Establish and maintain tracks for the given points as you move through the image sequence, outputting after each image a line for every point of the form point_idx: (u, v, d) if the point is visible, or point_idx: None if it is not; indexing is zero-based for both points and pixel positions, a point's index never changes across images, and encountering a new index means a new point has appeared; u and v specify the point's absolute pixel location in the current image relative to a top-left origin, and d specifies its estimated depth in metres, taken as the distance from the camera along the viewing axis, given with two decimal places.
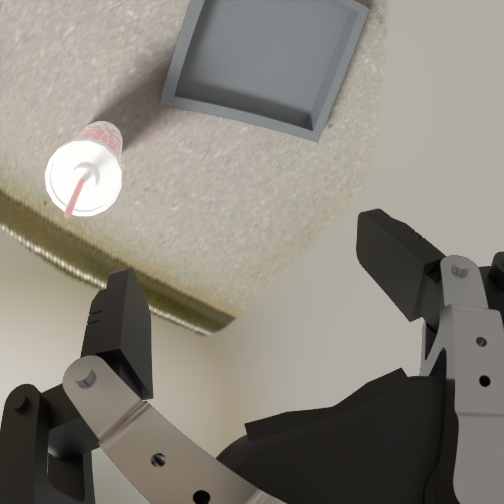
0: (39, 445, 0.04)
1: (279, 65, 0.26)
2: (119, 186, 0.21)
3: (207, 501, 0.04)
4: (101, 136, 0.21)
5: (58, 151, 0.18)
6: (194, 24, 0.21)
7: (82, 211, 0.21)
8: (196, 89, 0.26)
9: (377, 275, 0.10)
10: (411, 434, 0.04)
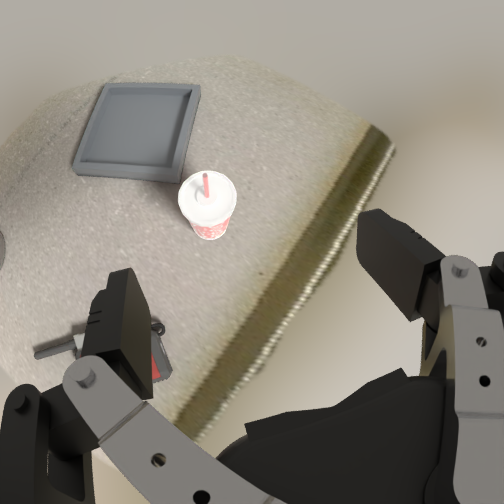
0: (39, 445, 0.04)
1: (152, 119, 0.43)
2: (213, 172, 0.33)
3: (207, 501, 0.04)
4: None
5: (184, 212, 0.32)
6: (123, 165, 0.39)
7: (232, 198, 0.32)
8: (170, 161, 0.42)
9: (377, 275, 0.10)
10: (411, 434, 0.04)
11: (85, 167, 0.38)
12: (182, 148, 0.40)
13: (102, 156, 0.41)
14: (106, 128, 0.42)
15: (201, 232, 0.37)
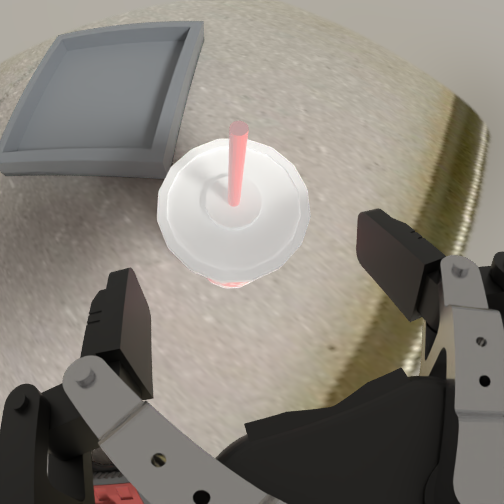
0: (39, 445, 0.04)
1: (124, 75, 0.23)
2: None
3: (207, 501, 0.04)
4: None
5: (174, 249, 0.12)
6: (66, 150, 0.19)
7: (299, 206, 0.12)
8: (151, 138, 0.22)
9: (377, 275, 0.10)
10: (411, 434, 0.04)
11: (8, 159, 0.19)
12: (172, 112, 0.20)
13: (40, 140, 0.21)
14: (52, 97, 0.22)
15: (217, 281, 0.17)
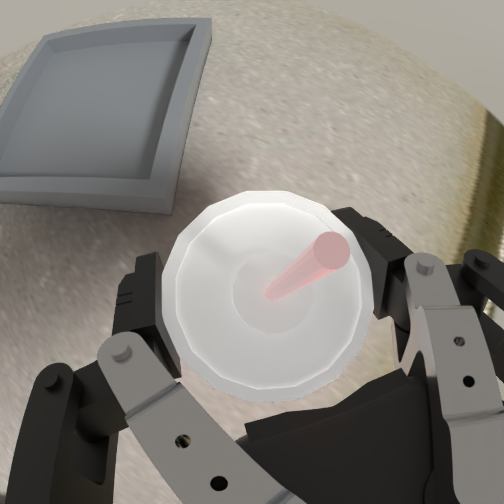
0: (66, 426, 0.05)
1: (117, 82, 0.20)
2: (285, 195, 0.09)
3: None
4: None
5: (189, 361, 0.08)
6: (47, 178, 0.16)
7: (360, 294, 0.09)
8: (150, 163, 0.18)
9: None
10: (400, 445, 0.04)
11: None
12: (175, 132, 0.17)
13: (20, 162, 0.18)
14: (34, 108, 0.19)
15: None
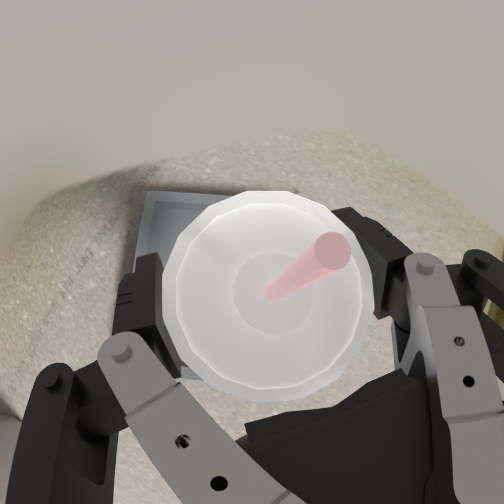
0: (66, 426, 0.05)
1: None
2: (286, 195, 0.09)
3: None
4: None
5: (189, 361, 0.08)
6: None
7: (361, 294, 0.09)
8: None
9: None
10: (400, 445, 0.04)
11: None
12: None
13: None
14: None
15: None
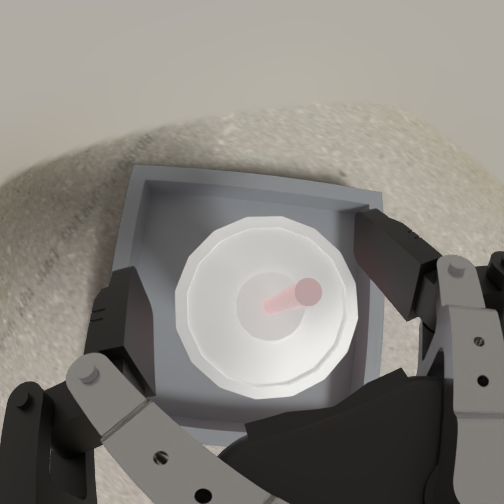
0: (41, 443, 0.04)
1: None
2: (281, 220, 0.11)
3: (207, 501, 0.04)
4: None
5: (199, 364, 0.09)
6: (243, 434, 0.15)
7: (346, 306, 0.10)
8: (338, 394, 0.18)
9: (374, 275, 0.10)
10: (410, 435, 0.04)
11: None
12: None
13: (166, 382, 0.17)
14: (157, 300, 0.19)
15: None
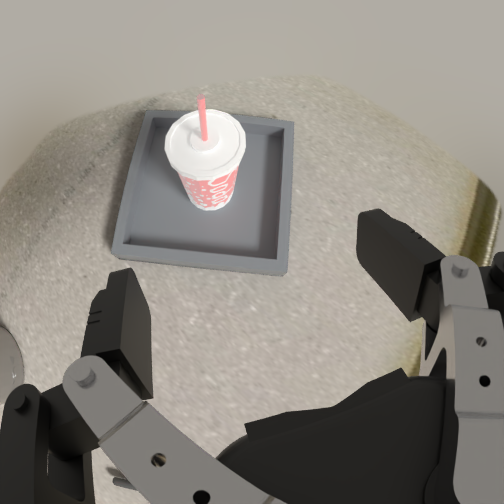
0: (39, 445, 0.04)
1: None
2: (212, 110, 0.23)
3: (207, 501, 0.04)
4: None
5: (172, 162, 0.22)
6: (199, 253, 0.28)
7: (240, 141, 0.22)
8: (266, 241, 0.30)
9: (377, 275, 0.10)
10: (411, 434, 0.04)
11: (133, 253, 0.27)
12: (288, 226, 0.29)
13: (156, 230, 0.30)
14: (155, 183, 0.31)
15: (198, 196, 0.27)
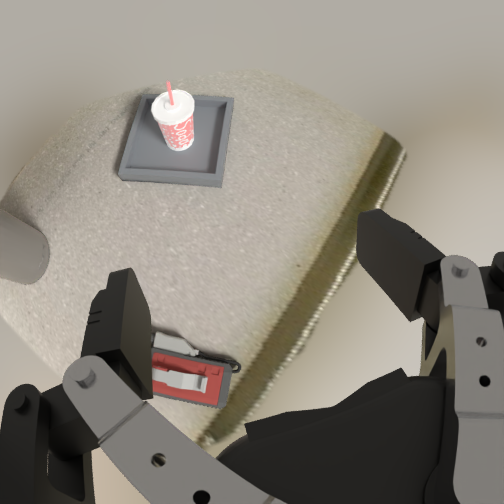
0: (39, 445, 0.04)
1: None
2: (178, 90, 0.40)
3: (207, 501, 0.04)
4: None
5: (155, 116, 0.39)
6: (170, 171, 0.45)
7: (191, 105, 0.40)
8: (212, 167, 0.47)
9: (377, 275, 0.10)
10: (411, 434, 0.04)
11: (131, 172, 0.44)
12: (223, 156, 0.46)
13: (146, 163, 0.47)
14: (147, 136, 0.48)
15: (170, 139, 0.44)
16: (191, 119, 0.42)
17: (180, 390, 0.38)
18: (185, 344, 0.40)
